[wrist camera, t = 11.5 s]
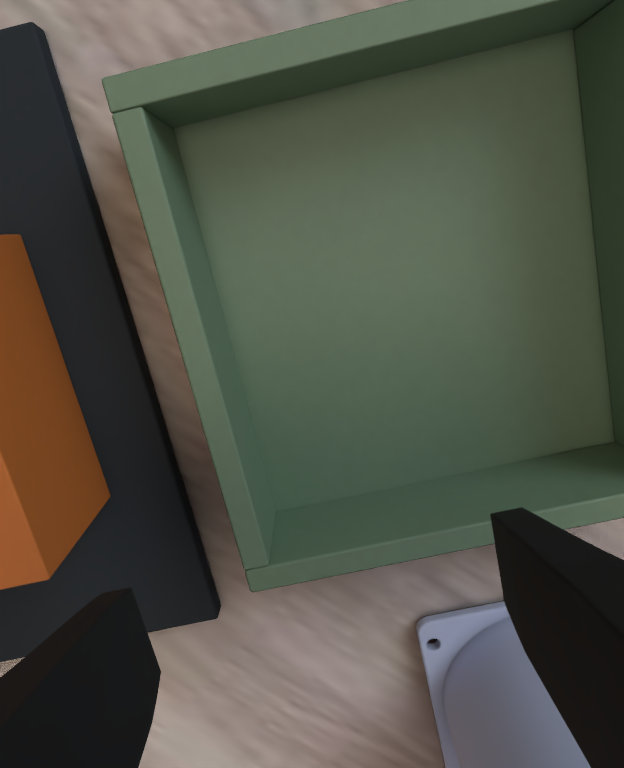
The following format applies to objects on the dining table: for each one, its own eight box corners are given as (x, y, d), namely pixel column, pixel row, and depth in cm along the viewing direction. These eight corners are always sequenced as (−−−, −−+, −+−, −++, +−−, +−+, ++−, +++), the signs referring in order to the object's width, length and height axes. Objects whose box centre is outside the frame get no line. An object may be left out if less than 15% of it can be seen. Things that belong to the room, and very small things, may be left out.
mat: (221, 605, 22) (218, 619, 22) (-3, 650, 23) (-14, 665, 22) (44, 29, 17) (31, 20, 17) (-239, 103, 18) (-264, 97, 17)
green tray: (634, 454, 21) (703, 502, 17) (260, 531, 22) (250, 594, 18) (592, -4, 17) (669, -68, 13) (143, 108, 18) (99, 78, 14)
